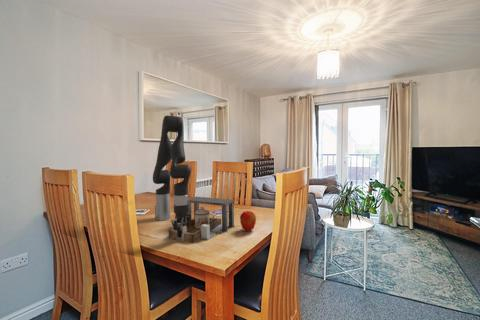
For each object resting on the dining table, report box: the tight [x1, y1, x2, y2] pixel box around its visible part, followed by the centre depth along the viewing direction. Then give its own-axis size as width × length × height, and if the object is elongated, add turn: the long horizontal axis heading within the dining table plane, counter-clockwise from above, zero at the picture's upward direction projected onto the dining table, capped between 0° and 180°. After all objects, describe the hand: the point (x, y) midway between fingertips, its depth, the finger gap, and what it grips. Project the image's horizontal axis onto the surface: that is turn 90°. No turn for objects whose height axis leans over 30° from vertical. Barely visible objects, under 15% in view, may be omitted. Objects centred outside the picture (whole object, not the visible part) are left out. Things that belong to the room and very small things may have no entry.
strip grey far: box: [211, 224, 222, 234], centre depth 136 cm, size 4×11×1 cm, turn 157°
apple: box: [239, 210, 257, 232], centre depth 134 cm, size 9×9×12 cm
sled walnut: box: [168, 216, 222, 243], centre depth 134 cm, size 16×30×7 cm, turn 157°
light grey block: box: [199, 224, 216, 241], centre depth 125 cm, size 4×8×7 cm, turn 157°
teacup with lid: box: [193, 207, 215, 230], centre depth 142 cm, size 12×9×12 cm
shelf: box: [187, 196, 235, 233], centre depth 142 cm, size 27×11×16 cm, turn 67°
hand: (181, 235), depth 121 cm, fingers closed on sled walnut, 3 cm apart
